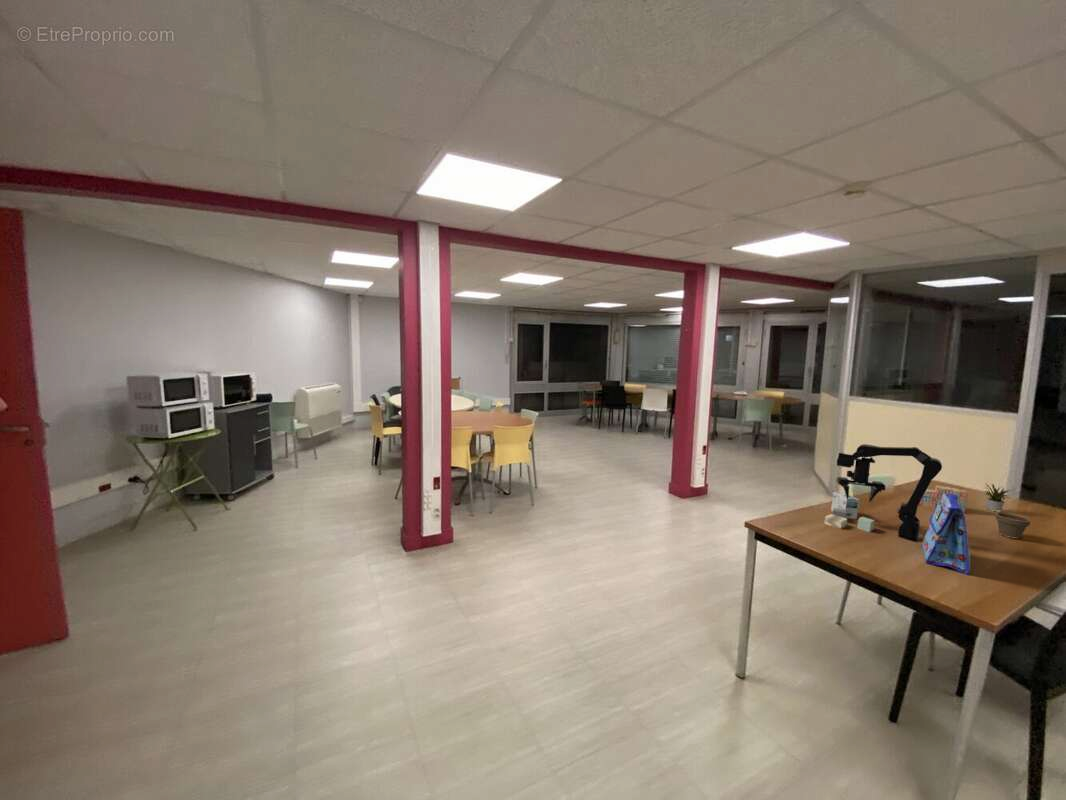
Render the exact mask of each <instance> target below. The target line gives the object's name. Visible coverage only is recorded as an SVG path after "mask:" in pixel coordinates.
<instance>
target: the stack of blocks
mask: <svg viewBox="0 0 1066 800" xmlns="http://www.w3.org/2000/svg"><path fill="white" fill-rule="evenodd" d="M914 489H915V487H914ZM943 493H946V494H950V493H952V494H956V495H959V496H958V501H957V502H958V504H959V506H960V507H961V508H962V510H963V512H964V513H965V511H966V506H967V501H968V496H969V492H967V490H964V489H959V488H955V487H947V486H942V485H937V484H936V485H935V488H934V489H929V488H927V490H926V491H925V493H924V495H923V497H922V499H921V501H920V503H919V505H918V506H921V505H924V506H923V507H926V506H930V507H929V508H931V507H935V508H934V509H936V507H937V505H938V503H939V501H940V499H941V497H942V494H943Z"/></svg>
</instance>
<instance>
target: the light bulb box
mask: <svg viewBox="0 0 1066 800" xmlns="http://www.w3.org/2000/svg"><path fill="white" fill-rule="evenodd" d="M832 495H833V496H832V501H831V507H830V511H831V512H833V510H834V508H838V509H842V510H846V513H845V518H846V519H851V520H857V518H858V512H859V511H858V510H859V506H860V505H859V504H860V499H859V498H857V497H855V496H852V495H850V494H849V497H848V499H847V498H846V494H845V492H839V491H838V492H837V491H834V492H833V494H832Z"/></svg>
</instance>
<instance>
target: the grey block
mask: <svg viewBox="0 0 1066 800" xmlns="http://www.w3.org/2000/svg"><path fill="white" fill-rule="evenodd" d="M845 513H846V510H842V509H838V508H834V510H833V511H832V514H833V515H836V516H840V517H843V518H845Z"/></svg>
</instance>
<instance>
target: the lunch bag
mask: <svg viewBox="0 0 1066 800" xmlns="http://www.w3.org/2000/svg"><path fill="white" fill-rule="evenodd" d="M958 496H959V495H956V494H952V493H950V494H946V493H943V494H942V497H941V499H940V501H939V503H938V505H937V507H936V508H934V510H933V512H932V513H931V515H930V517H929V526H928V529H927V531H926V533H925V535H924V538H923V541H922V543H921V546H922V550H923V554H924V558H925V559H924V560H925V563H926V564H928V565H930V566H931V565H932V566H933V565H936V566H942V567H946V566H947V567H949V568H951V569H953V570H955V571H958V572H959V573H962V574H964V573H965V574H964V575H969V574H970V569H971V554H970V544H969V543H970V542H969V536H968V529H967V522H966V515H965V511H964V512H963V510H962V508H961V507H960V506H959V504H958V502H957V501H958Z"/></svg>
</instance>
